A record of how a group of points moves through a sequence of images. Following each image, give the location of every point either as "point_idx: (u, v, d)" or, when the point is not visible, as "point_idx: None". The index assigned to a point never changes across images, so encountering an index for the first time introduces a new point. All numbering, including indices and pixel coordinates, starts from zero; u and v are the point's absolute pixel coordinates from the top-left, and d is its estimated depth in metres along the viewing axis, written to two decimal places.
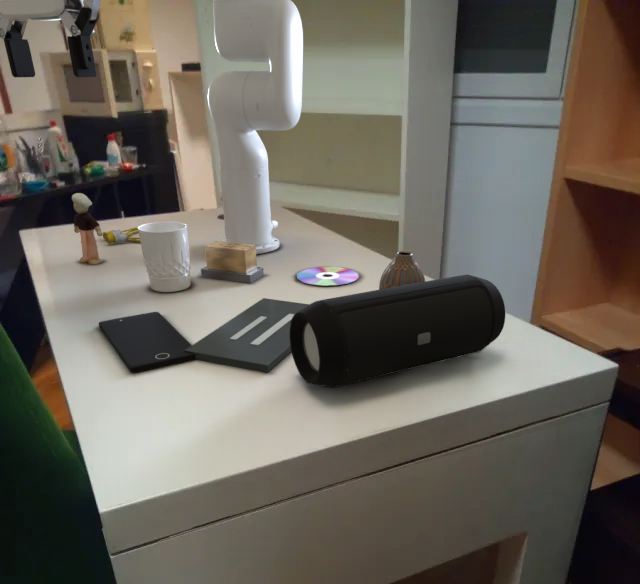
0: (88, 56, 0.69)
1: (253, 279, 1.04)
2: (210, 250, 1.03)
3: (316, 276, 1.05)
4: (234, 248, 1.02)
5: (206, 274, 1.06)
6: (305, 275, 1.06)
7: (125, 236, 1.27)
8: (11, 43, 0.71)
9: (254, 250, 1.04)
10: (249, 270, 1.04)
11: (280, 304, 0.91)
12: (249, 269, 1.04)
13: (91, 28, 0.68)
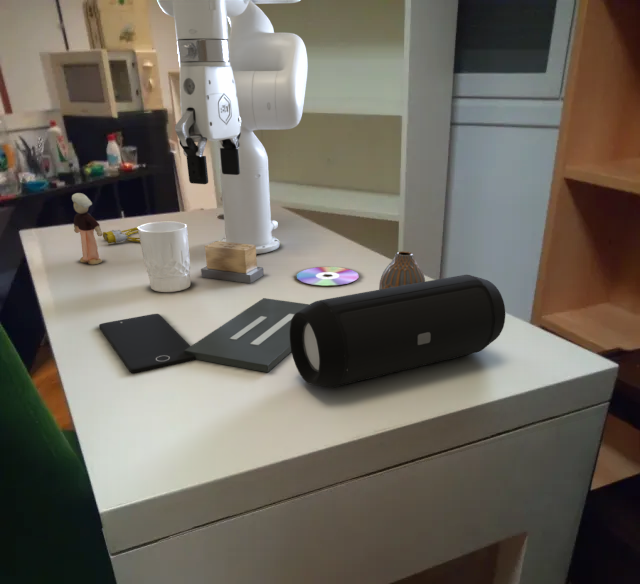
0: (194, 170, 0.91)
1: (253, 279, 1.04)
2: (210, 250, 1.03)
3: (316, 276, 1.05)
4: (234, 248, 1.02)
5: (206, 274, 1.06)
6: (305, 275, 1.06)
7: (125, 236, 1.27)
8: (221, 151, 0.99)
9: (254, 250, 1.04)
10: (249, 270, 1.04)
11: (280, 304, 0.91)
12: (249, 269, 1.04)
13: (191, 151, 0.89)
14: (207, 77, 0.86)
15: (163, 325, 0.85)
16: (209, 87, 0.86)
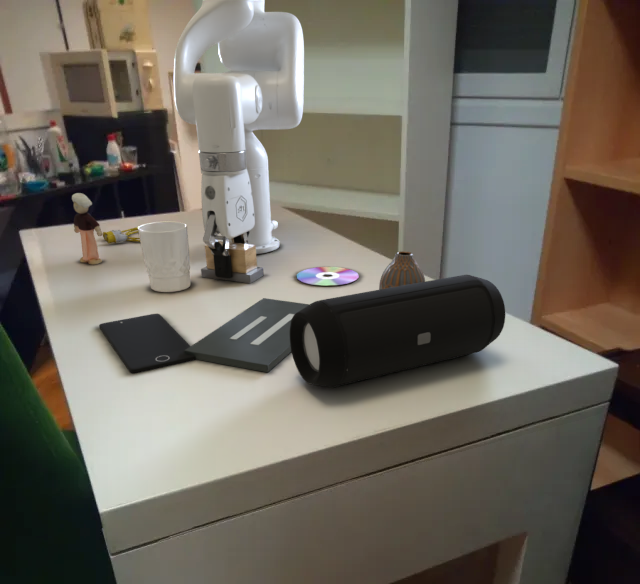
0: (220, 267, 1.02)
1: (253, 279, 1.04)
2: (210, 250, 1.03)
3: (316, 276, 1.05)
4: (234, 248, 1.02)
5: (206, 274, 1.06)
6: (305, 275, 1.06)
7: (125, 236, 1.27)
8: None
9: (254, 250, 1.04)
10: (249, 270, 1.04)
11: (280, 304, 0.91)
12: (249, 269, 1.04)
13: (218, 252, 1.00)
14: (226, 185, 0.95)
15: (163, 325, 0.85)
16: (228, 193, 0.95)
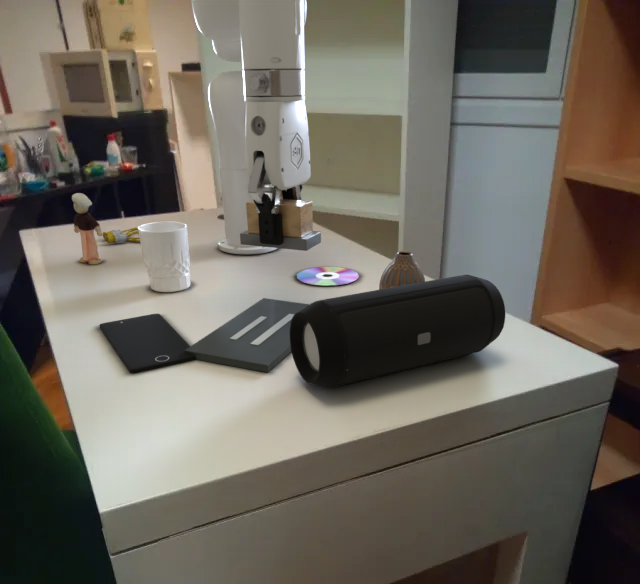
0: (268, 229, 0.78)
1: (309, 246, 0.79)
2: (253, 208, 0.79)
3: (316, 276, 1.05)
4: (285, 204, 0.77)
5: (247, 240, 0.81)
6: (305, 275, 1.06)
7: (125, 236, 1.27)
8: None
9: (310, 208, 0.79)
10: (304, 234, 0.79)
11: (280, 304, 0.91)
12: (304, 233, 0.79)
13: (266, 209, 0.76)
14: (280, 115, 0.70)
15: (163, 325, 0.85)
16: (283, 126, 0.71)
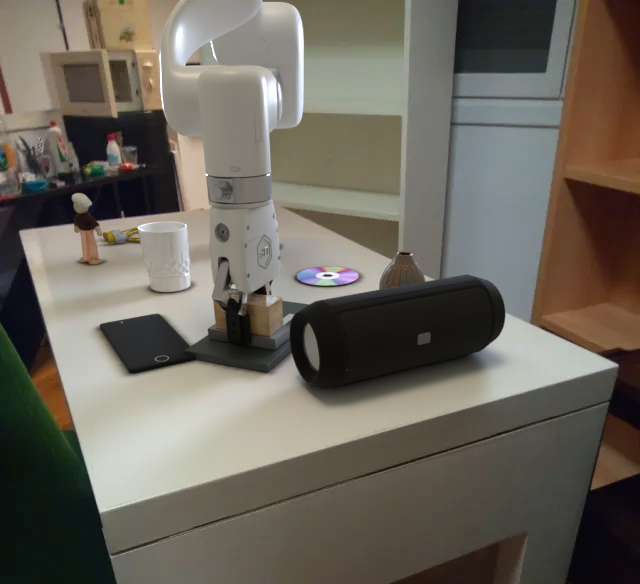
0: (235, 330, 0.75)
1: (279, 344, 0.76)
2: None
3: (316, 276, 1.05)
4: (253, 303, 0.75)
5: (215, 335, 0.78)
6: (305, 275, 1.06)
7: (125, 236, 1.27)
8: None
9: (280, 304, 0.77)
10: (273, 331, 0.76)
11: None
12: (273, 330, 0.76)
13: (233, 312, 0.73)
14: (245, 223, 0.67)
15: (163, 325, 0.85)
16: (248, 233, 0.68)
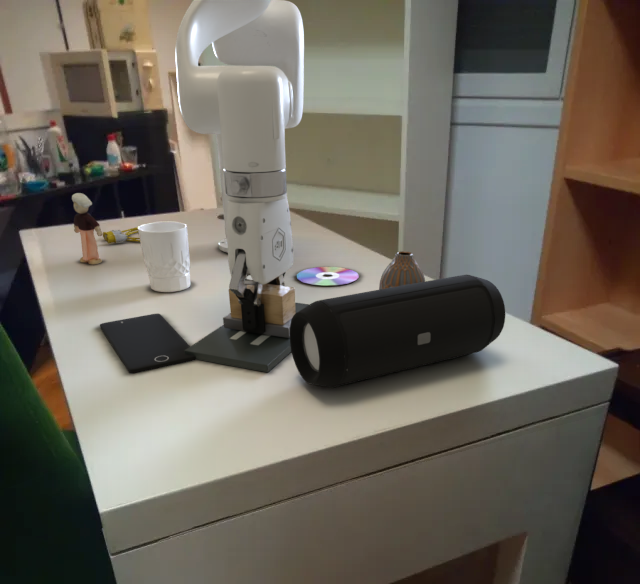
0: (250, 319, 0.78)
1: None
2: None
3: (316, 276, 1.05)
4: (268, 293, 0.78)
5: (230, 324, 0.81)
6: (305, 275, 1.06)
7: (125, 236, 1.27)
8: None
9: (293, 294, 0.80)
10: (287, 320, 0.79)
11: None
12: (287, 319, 0.79)
13: (248, 302, 0.76)
14: (261, 216, 0.71)
15: (163, 325, 0.85)
16: (264, 226, 0.71)
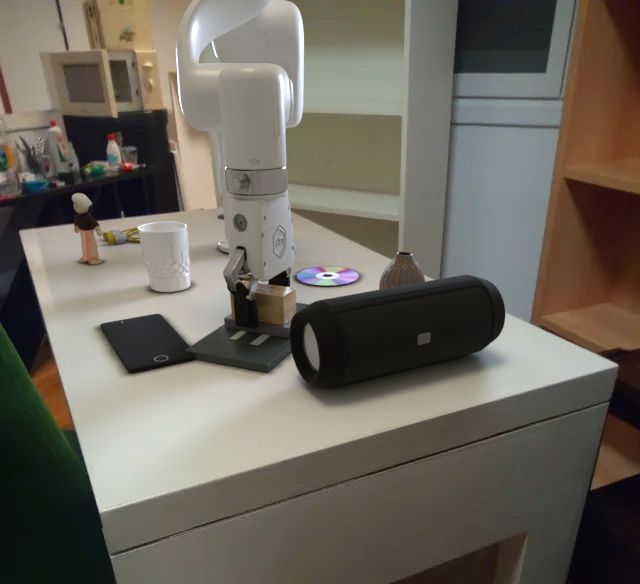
0: (243, 314, 0.76)
1: None
2: None
3: (316, 276, 1.05)
4: (269, 293, 0.78)
5: (231, 325, 0.82)
6: (305, 275, 1.06)
7: (125, 236, 1.27)
8: (270, 279, 0.84)
9: (294, 295, 0.80)
10: (287, 321, 0.80)
11: None
12: (287, 319, 0.80)
13: (241, 296, 0.74)
14: (262, 213, 0.71)
15: (163, 325, 0.85)
16: (264, 223, 0.71)
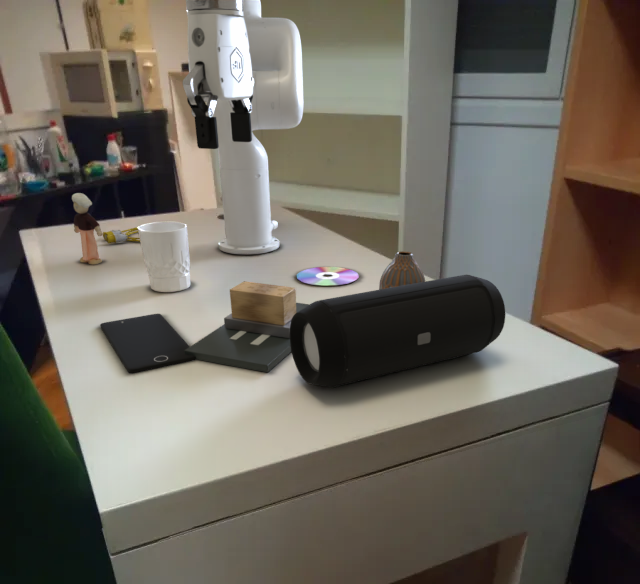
0: (203, 133, 0.82)
1: None
2: (237, 295, 0.79)
3: (316, 276, 1.05)
4: (269, 293, 0.78)
5: (231, 325, 0.82)
6: (305, 275, 1.06)
7: (125, 236, 1.27)
8: (232, 116, 0.90)
9: (294, 295, 0.80)
10: (287, 321, 0.80)
11: None
12: (287, 319, 0.80)
13: (200, 111, 0.80)
14: (218, 27, 0.77)
15: (164, 325, 0.85)
16: (221, 38, 0.78)
